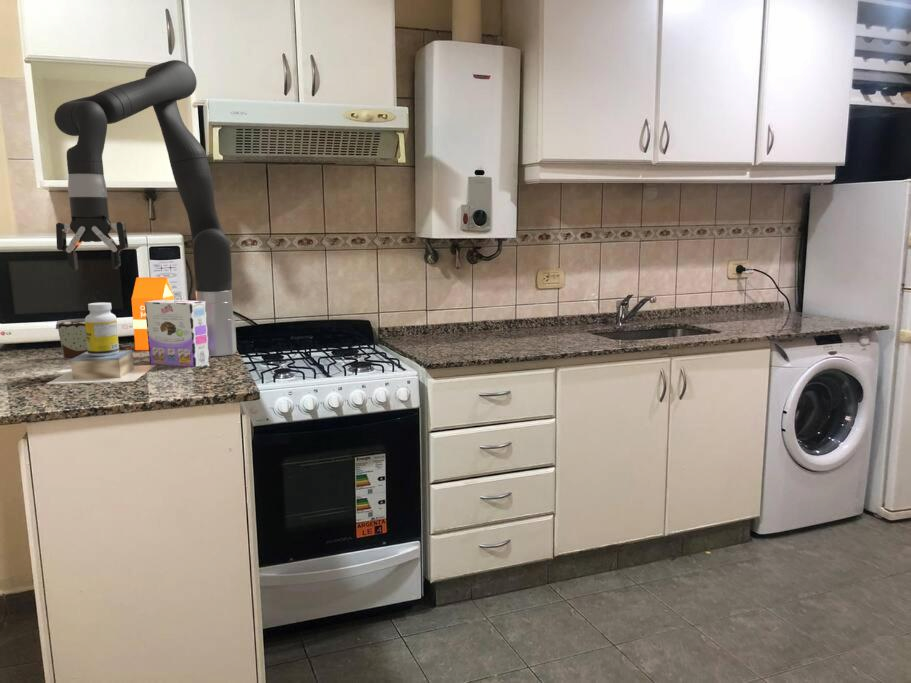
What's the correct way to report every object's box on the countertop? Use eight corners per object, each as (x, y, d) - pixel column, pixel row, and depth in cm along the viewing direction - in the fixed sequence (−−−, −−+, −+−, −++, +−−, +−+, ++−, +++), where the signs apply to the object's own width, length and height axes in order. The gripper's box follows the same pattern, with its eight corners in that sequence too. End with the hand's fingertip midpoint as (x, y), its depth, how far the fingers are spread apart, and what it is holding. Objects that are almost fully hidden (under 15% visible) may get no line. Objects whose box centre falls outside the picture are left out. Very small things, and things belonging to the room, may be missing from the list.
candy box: (210, 366, 176) (206, 300, 174) (195, 371, 171) (190, 302, 168) (165, 363, 181) (161, 298, 178) (148, 367, 175) (143, 300, 172)
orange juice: (166, 350, 199) (161, 278, 196) (134, 350, 199) (129, 278, 196) (177, 345, 207) (172, 276, 204) (147, 345, 207) (142, 276, 204)
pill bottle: (94, 352, 165) (90, 302, 163) (123, 351, 166) (120, 301, 164) (82, 357, 159) (78, 305, 157) (112, 356, 159) (108, 305, 157)
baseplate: (156, 369, 173) (156, 365, 173) (134, 385, 155) (134, 381, 155) (77, 371, 170) (77, 367, 170) (46, 388, 153) (45, 383, 153)
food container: (116, 355, 191) (113, 318, 189) (103, 359, 185) (100, 321, 183) (73, 354, 192) (69, 318, 190) (58, 359, 186) (54, 321, 184)
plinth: (133, 368, 168) (132, 350, 168) (120, 377, 159) (119, 357, 158) (88, 370, 167) (87, 351, 166) (72, 379, 157) (70, 359, 156)
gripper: (127, 196, 163) (133, 267, 165) (59, 196, 160) (67, 269, 163) (117, 195, 155) (124, 269, 158) (46, 195, 153) (54, 271, 156)
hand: (95, 269), depth 160 cm, fingers open, 8 cm apart
